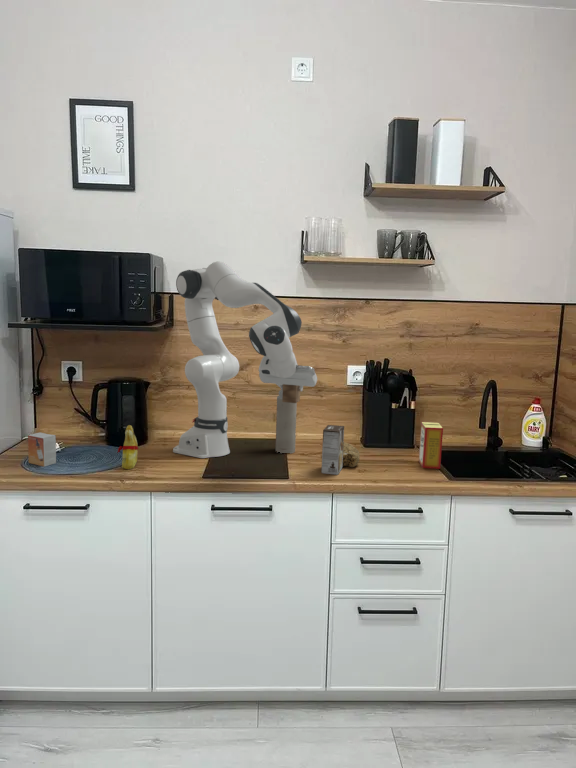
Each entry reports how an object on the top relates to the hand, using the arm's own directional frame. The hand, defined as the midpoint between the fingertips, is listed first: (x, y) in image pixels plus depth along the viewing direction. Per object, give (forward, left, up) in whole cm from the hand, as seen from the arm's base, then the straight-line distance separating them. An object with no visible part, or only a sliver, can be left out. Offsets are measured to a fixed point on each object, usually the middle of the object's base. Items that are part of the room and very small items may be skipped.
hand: (292, 389), depth 207 cm
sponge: (+15, +18, -30) cm, 38 cm away
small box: (-84, -31, -30) cm, 94 cm away
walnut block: (0, -1, -4) cm, 4 cm away
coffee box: (+15, +4, -30) cm, 33 cm away
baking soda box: (+48, +26, -30) cm, 62 cm away
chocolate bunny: (-55, -21, -30) cm, 66 cm away
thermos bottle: (-9, +21, -30) cm, 38 cm away
